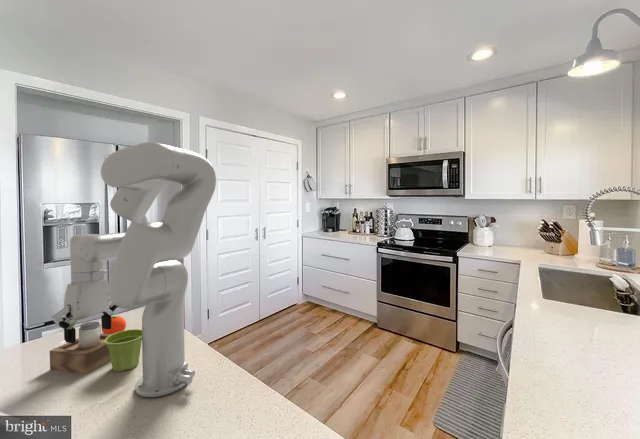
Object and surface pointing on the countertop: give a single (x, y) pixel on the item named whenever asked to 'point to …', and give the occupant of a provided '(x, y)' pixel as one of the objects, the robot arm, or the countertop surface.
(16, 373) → the countertop surface
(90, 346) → the white rounded cylinder
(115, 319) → the clementine
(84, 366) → the tray
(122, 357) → the plant pot
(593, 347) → the countertop surface
